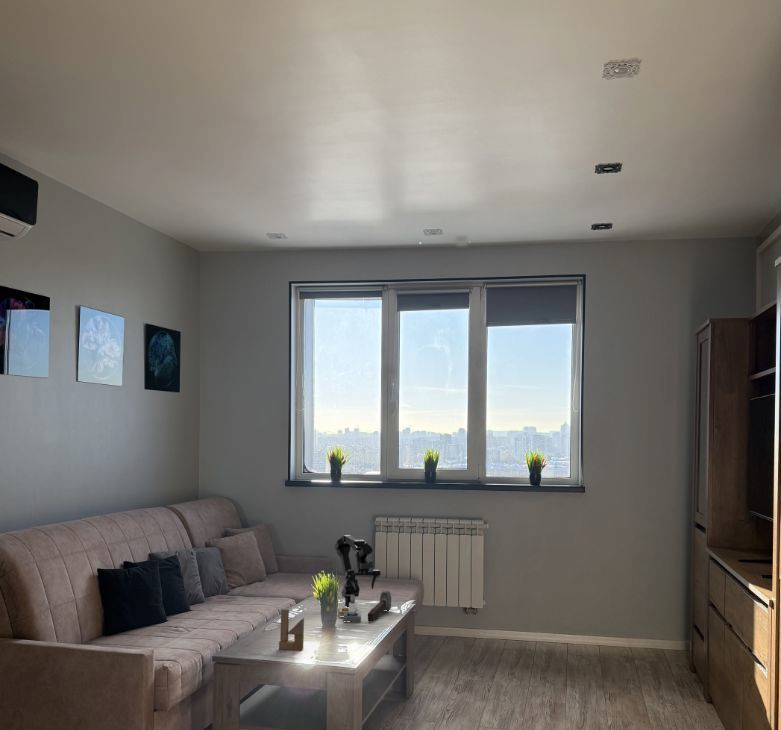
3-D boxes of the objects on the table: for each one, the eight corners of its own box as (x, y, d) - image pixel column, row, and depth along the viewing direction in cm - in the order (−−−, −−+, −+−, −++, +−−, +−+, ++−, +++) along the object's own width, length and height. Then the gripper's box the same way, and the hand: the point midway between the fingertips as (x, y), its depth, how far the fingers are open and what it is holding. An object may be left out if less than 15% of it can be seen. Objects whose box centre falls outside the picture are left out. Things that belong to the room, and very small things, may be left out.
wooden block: (301, 651, 363) (302, 610, 364) (278, 649, 365) (279, 609, 366) (303, 649, 366) (304, 609, 368) (281, 647, 368) (282, 607, 370)
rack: (340, 614, 436) (340, 608, 436) (354, 614, 436) (354, 608, 436) (339, 617, 428) (339, 611, 428) (354, 617, 428) (354, 611, 428)
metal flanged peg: (348, 619, 424) (349, 594, 425) (356, 619, 424) (356, 594, 425) (348, 621, 420) (348, 596, 421) (356, 621, 420) (356, 596, 421)
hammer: (375, 629, 418) (391, 609, 447) (374, 608, 418) (391, 589, 447) (366, 628, 420) (383, 608, 449) (365, 607, 419) (382, 589, 448)
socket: (344, 618, 426) (344, 612, 427) (360, 618, 427) (361, 612, 427) (343, 622, 417) (343, 616, 418) (360, 622, 418) (360, 616, 418)
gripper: (348, 555, 430) (350, 583, 421) (381, 555, 435) (384, 583, 426) (343, 563, 438) (346, 591, 429) (376, 563, 443) (379, 591, 434)
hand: (364, 589), depth 429 cm, fingers open, 9 cm apart
